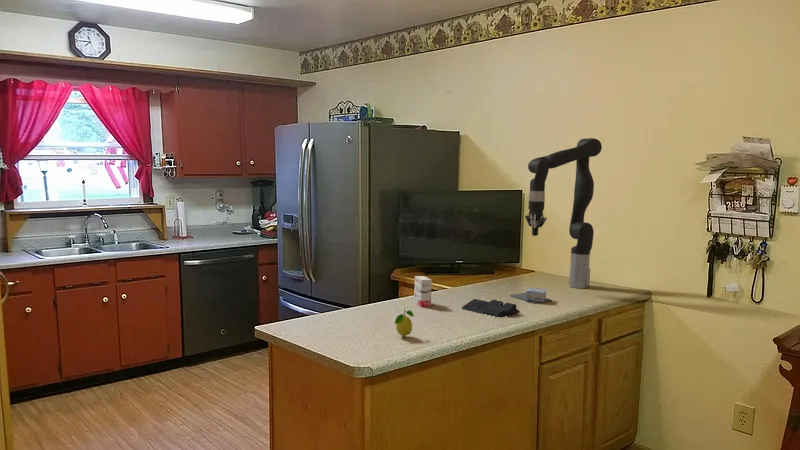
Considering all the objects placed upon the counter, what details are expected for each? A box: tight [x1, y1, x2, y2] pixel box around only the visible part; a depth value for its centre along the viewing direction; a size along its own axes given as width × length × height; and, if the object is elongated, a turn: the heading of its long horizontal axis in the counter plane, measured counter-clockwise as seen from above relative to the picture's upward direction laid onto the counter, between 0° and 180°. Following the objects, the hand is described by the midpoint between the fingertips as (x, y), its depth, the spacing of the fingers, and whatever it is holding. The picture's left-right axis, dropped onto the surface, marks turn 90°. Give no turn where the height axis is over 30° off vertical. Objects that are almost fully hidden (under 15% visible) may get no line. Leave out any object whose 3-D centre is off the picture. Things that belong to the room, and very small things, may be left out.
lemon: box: [394, 309, 414, 338], centre depth 201 cm, size 7×6×10 cm
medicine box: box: [525, 287, 547, 303], centre depth 261 cm, size 8×4×9 cm
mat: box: [509, 292, 553, 304], centre depth 265 cm, size 11×16×1 cm
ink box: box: [413, 275, 433, 308], centre depth 248 cm, size 8×5×12 cm, turn 20°
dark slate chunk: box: [461, 298, 520, 318], centre depth 241 cm, size 15×22×5 cm
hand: (534, 235), depth 282 cm, fingers closed
